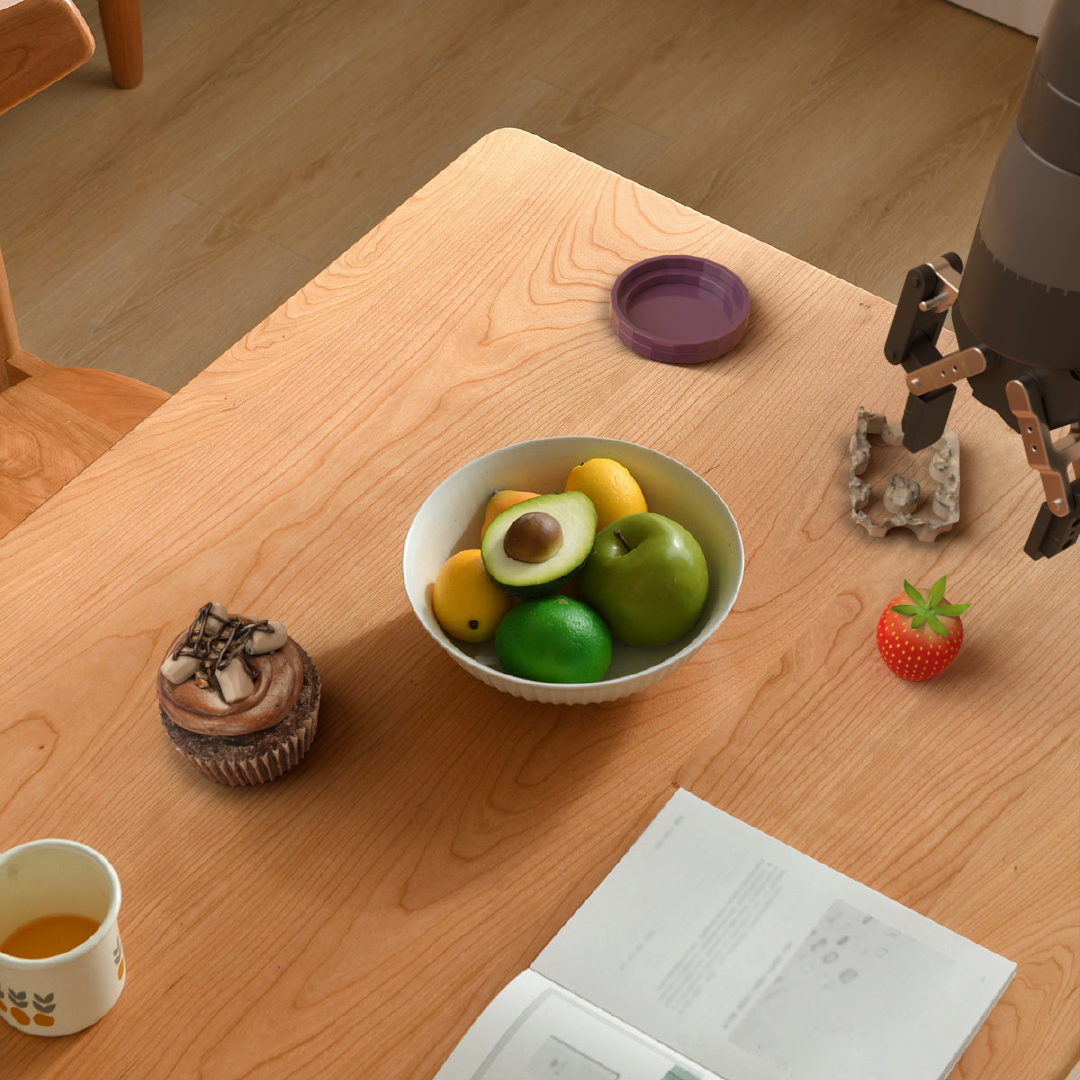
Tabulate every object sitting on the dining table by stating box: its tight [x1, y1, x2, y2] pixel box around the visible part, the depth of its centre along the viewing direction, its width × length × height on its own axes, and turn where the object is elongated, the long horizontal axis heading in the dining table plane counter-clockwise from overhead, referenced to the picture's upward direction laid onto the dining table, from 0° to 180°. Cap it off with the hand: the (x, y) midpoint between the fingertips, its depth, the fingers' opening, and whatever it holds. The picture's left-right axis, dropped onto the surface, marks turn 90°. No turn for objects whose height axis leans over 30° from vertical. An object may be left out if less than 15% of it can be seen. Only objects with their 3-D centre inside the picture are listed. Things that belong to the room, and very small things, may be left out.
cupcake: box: [154, 601, 322, 787], centre depth 80 cm, size 10×10×10 cm
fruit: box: [875, 574, 972, 682], centre depth 84 cm, size 5×5×8 cm
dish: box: [609, 254, 752, 364], centre depth 108 cm, size 11×11×3 cm
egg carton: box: [848, 405, 961, 543], centre depth 95 cm, size 11×8×4 cm
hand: (979, 494), depth 68 cm, fingers open, 8 cm apart
